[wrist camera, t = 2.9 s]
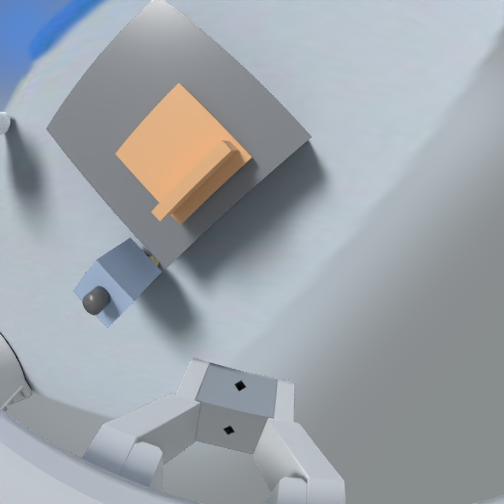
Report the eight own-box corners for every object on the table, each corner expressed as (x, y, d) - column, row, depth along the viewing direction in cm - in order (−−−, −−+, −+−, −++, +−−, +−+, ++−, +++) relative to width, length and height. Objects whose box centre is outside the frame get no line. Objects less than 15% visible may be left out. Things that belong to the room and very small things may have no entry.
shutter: (182, 223, 21) (166, 235, 19) (119, 153, 20) (95, 155, 17) (252, 156, 19) (246, 158, 17) (181, 84, 18) (164, 75, 15)
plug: (142, 290, 29) (98, 338, 21) (114, 259, 28) (62, 299, 20) (168, 265, 27) (125, 311, 19) (137, 232, 27) (84, 267, 19)
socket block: (182, 251, 27) (166, 268, 23) (73, 128, 24) (46, 128, 20) (308, 138, 23) (311, 137, 19) (175, 13, 20) (157, -5, 16)
